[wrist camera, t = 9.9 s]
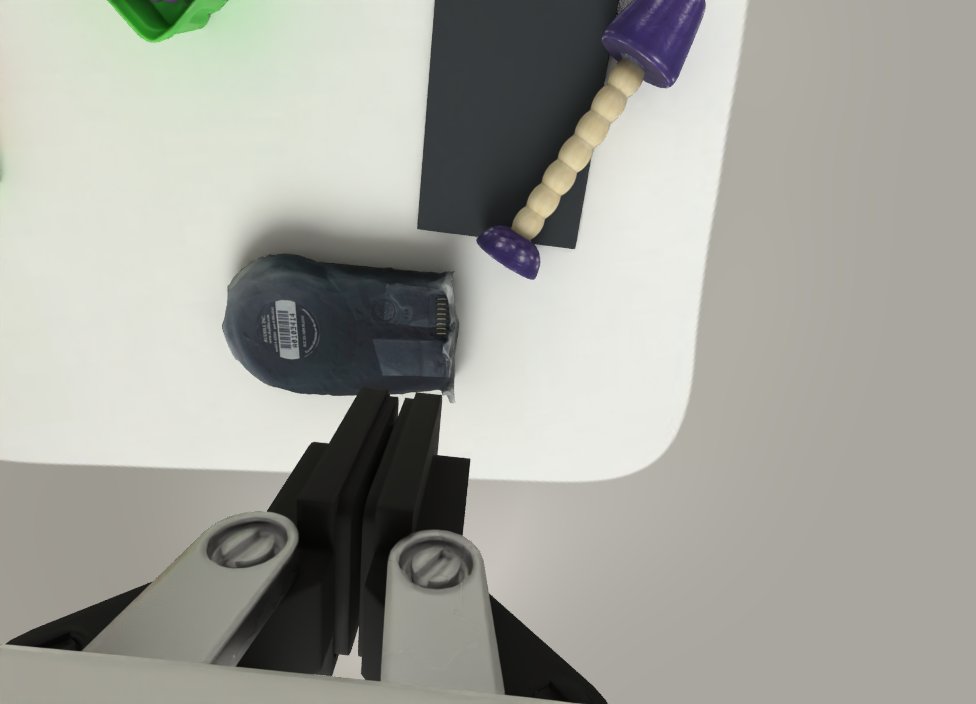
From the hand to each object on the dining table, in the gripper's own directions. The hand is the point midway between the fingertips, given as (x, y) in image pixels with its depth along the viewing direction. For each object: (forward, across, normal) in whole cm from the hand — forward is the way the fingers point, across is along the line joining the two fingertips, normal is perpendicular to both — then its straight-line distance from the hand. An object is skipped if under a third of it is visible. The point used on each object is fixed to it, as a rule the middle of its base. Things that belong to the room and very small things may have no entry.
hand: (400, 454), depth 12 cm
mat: (+25, -2, -11) cm, 28 cm away
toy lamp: (+23, -2, 0) cm, 23 cm away
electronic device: (+25, +8, +6) cm, 27 cm away
